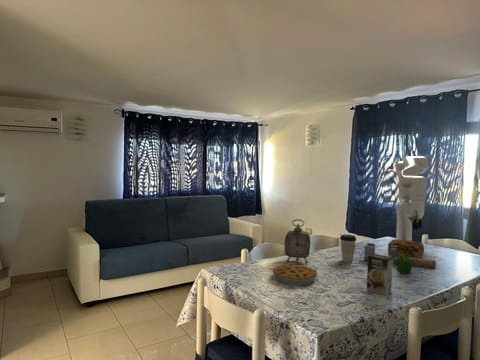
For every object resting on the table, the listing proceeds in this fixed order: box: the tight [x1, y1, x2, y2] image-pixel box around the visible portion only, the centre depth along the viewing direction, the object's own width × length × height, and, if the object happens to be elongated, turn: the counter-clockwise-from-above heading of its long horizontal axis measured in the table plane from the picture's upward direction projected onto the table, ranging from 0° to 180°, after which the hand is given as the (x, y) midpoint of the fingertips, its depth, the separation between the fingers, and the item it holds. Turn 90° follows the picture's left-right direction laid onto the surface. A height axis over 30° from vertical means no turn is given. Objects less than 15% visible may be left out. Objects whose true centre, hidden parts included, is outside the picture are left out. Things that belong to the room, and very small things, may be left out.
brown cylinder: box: [407, 257, 437, 269], centre depth 191 cm, size 16×4×4 cm, turn 64°
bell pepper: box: [395, 254, 413, 275], centre depth 179 cm, size 8×8×10 cm
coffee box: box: [366, 253, 394, 296], centre depth 152 cm, size 9×6×16 cm
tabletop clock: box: [284, 218, 311, 264], centre depth 196 cm, size 14×9×25 cm, turn 76°
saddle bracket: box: [389, 246, 397, 266], centre depth 197 cm, size 9×3×9 cm, turn 154°
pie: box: [272, 263, 318, 286], centre depth 167 cm, size 22×22×5 cm
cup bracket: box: [363, 242, 376, 262], centre depth 203 cm, size 9×5×9 cm, turn 154°
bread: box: [387, 238, 425, 259], centre depth 212 cm, size 19×11×10 cm, turn 41°
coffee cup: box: [339, 234, 357, 263], centre depth 199 cm, size 9×9×15 cm
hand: (416, 228), depth 190 cm, fingers open, 9 cm apart
